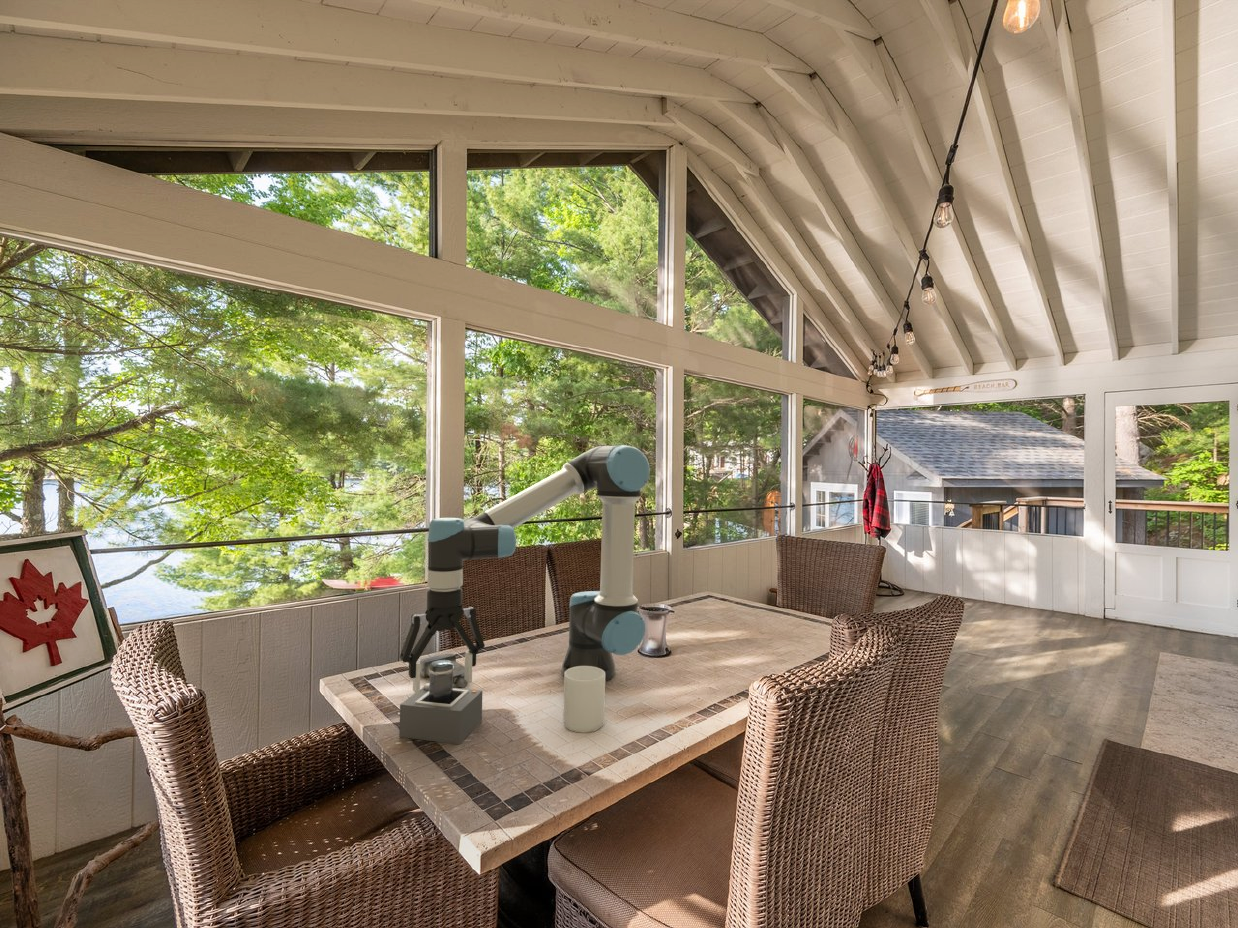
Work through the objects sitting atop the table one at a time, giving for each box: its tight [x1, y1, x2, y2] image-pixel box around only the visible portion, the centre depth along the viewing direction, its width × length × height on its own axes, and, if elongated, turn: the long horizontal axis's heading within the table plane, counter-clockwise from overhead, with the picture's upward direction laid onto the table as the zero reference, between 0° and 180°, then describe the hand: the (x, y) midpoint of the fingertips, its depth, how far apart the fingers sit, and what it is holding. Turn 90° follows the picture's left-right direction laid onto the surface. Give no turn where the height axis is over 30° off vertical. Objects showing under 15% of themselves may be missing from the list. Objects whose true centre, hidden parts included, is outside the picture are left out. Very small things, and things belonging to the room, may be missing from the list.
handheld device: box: [419, 653, 469, 688], centre depth 154 cm, size 10×20×5 cm, turn 43°
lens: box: [428, 660, 454, 704], centre depth 125 cm, size 5×5×10 cm
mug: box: [562, 666, 606, 734], centre depth 130 cm, size 10×12×12 cm
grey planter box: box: [398, 682, 483, 745], centre depth 126 cm, size 14×11×8 cm
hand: (442, 686), depth 126 cm, fingers open, 11 cm apart
